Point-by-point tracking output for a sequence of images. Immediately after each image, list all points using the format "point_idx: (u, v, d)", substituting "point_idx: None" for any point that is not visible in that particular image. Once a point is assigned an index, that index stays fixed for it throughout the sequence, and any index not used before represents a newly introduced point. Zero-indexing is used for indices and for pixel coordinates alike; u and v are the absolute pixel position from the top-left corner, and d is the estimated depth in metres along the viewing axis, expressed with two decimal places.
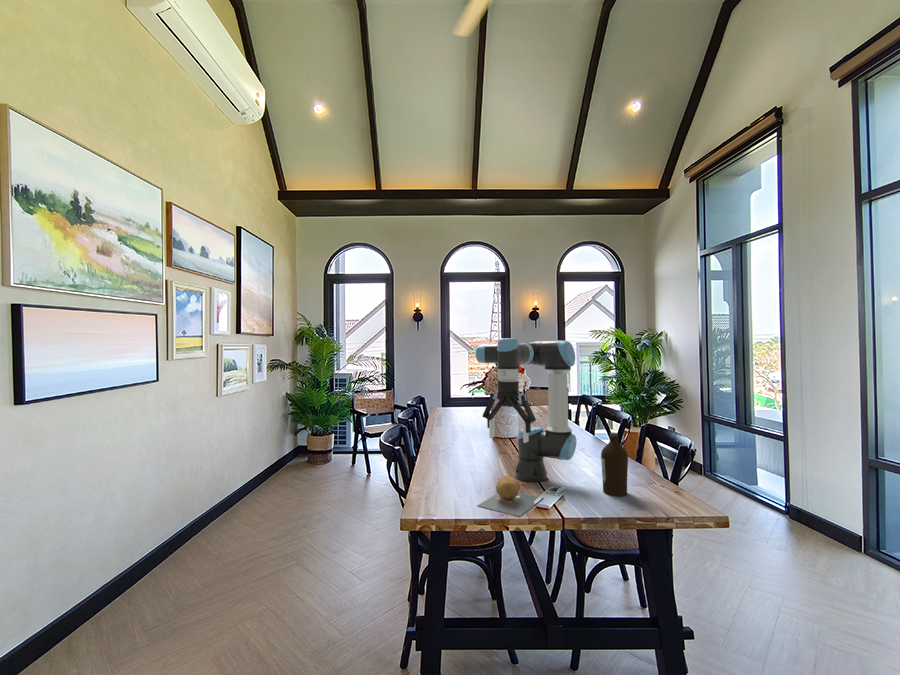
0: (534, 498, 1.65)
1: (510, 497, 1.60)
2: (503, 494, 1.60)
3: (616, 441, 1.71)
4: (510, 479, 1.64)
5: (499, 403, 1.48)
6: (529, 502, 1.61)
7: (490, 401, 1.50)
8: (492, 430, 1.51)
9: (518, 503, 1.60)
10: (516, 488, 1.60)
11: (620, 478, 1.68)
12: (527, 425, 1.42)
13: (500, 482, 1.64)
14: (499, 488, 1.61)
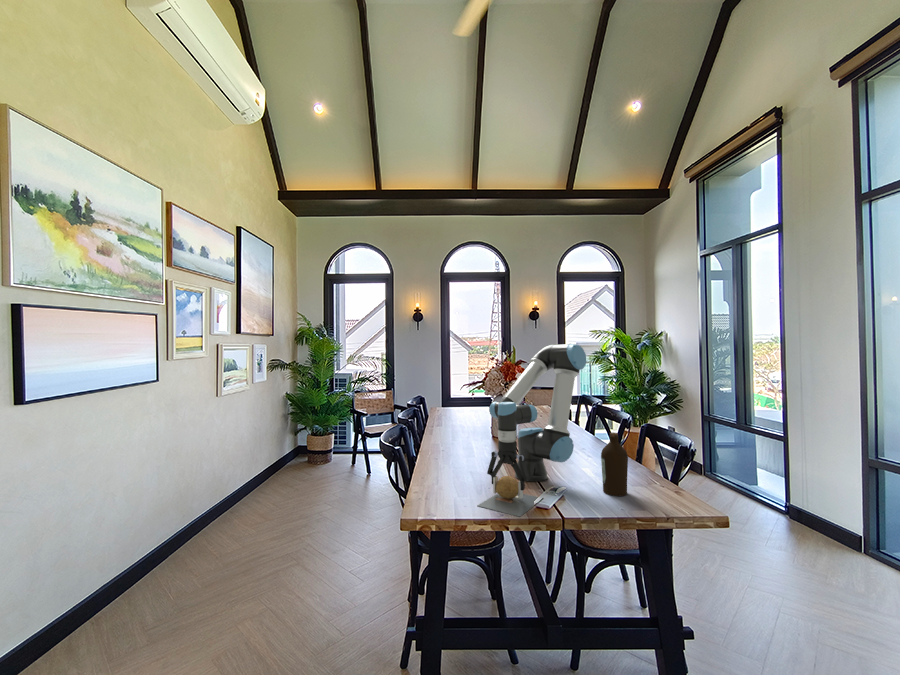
0: (534, 498, 1.65)
1: (510, 497, 1.60)
2: (503, 494, 1.60)
3: (616, 441, 1.71)
4: (510, 479, 1.64)
5: (500, 461, 1.66)
6: (529, 502, 1.61)
7: (492, 459, 1.69)
8: None
9: (518, 503, 1.60)
10: (516, 488, 1.60)
11: (620, 478, 1.68)
12: (521, 483, 1.61)
13: (500, 482, 1.64)
14: (499, 488, 1.61)
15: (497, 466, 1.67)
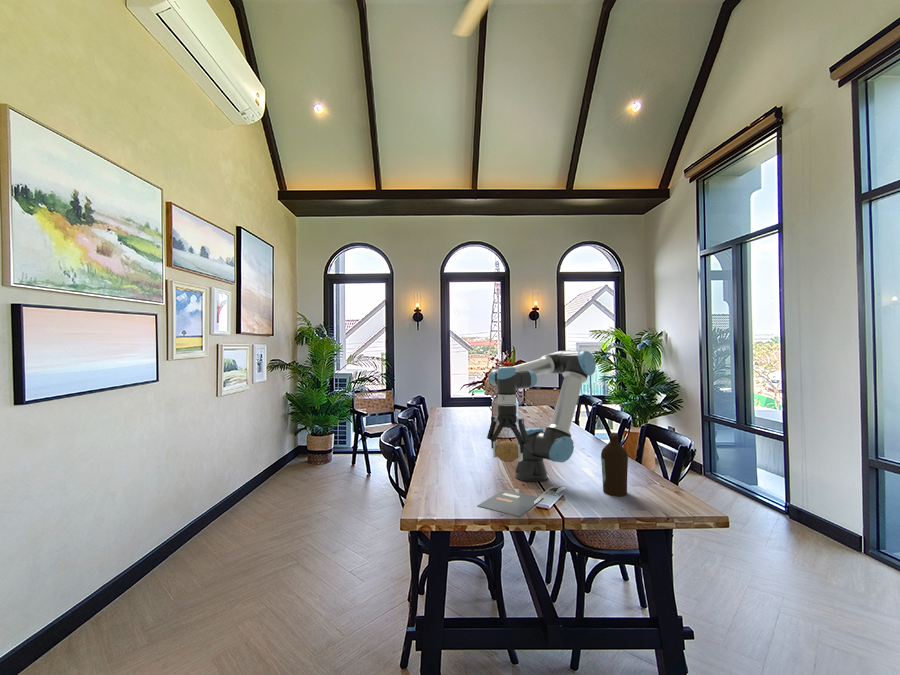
0: (534, 498, 1.65)
1: (510, 460, 1.61)
2: (502, 457, 1.61)
3: (616, 441, 1.71)
4: (510, 442, 1.65)
5: (500, 425, 1.67)
6: (529, 502, 1.61)
7: (492, 423, 1.69)
8: None
9: (518, 503, 1.60)
10: (516, 451, 1.61)
11: (620, 478, 1.68)
12: (521, 446, 1.62)
13: (500, 445, 1.65)
14: (499, 451, 1.62)
15: (497, 430, 1.68)
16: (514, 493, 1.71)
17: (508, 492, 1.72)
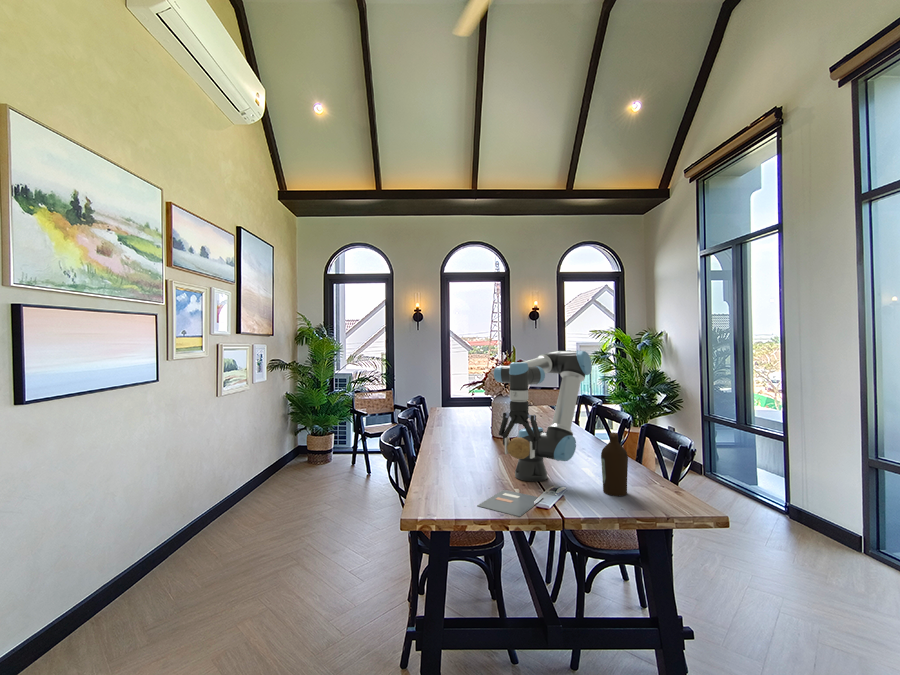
0: (534, 498, 1.65)
1: (521, 456, 1.59)
2: (514, 453, 1.59)
3: (616, 441, 1.71)
4: (521, 439, 1.63)
5: (511, 421, 1.65)
6: (529, 502, 1.61)
7: (504, 420, 1.67)
8: None
9: (518, 503, 1.60)
10: (527, 447, 1.59)
11: (620, 478, 1.68)
12: (533, 443, 1.60)
13: (511, 442, 1.63)
14: (510, 448, 1.60)
15: (508, 427, 1.66)
16: (514, 493, 1.71)
17: (508, 492, 1.72)
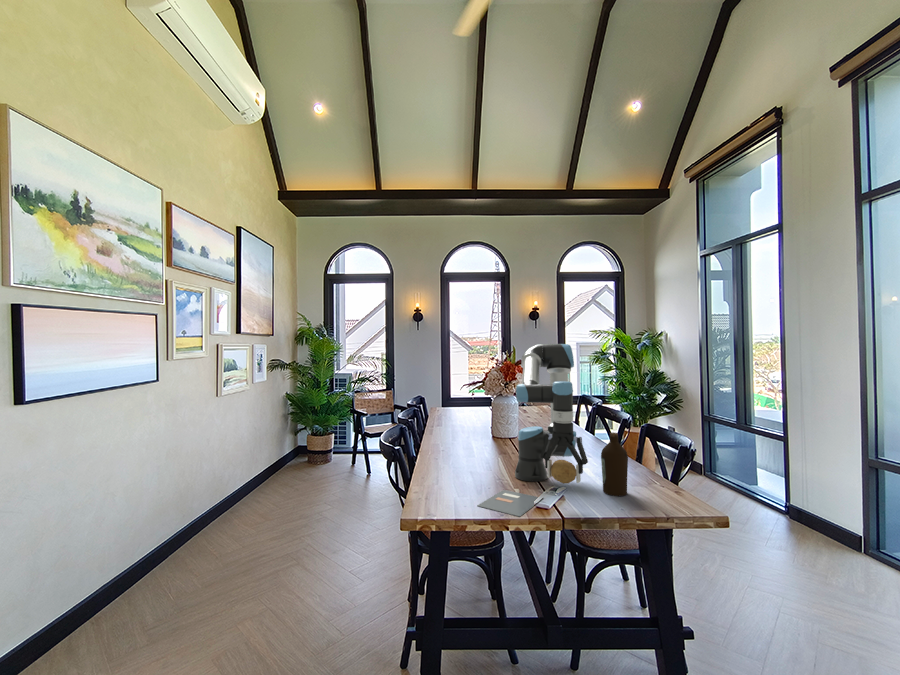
0: (534, 498, 1.65)
1: (568, 481, 1.51)
2: (560, 478, 1.51)
3: (616, 441, 1.71)
4: (566, 462, 1.55)
5: (555, 443, 1.57)
6: (529, 502, 1.61)
7: (546, 441, 1.60)
8: (550, 470, 1.59)
9: (518, 503, 1.60)
10: (574, 471, 1.51)
11: (620, 478, 1.68)
12: (580, 466, 1.52)
13: (556, 465, 1.55)
14: (556, 472, 1.52)
15: (552, 449, 1.58)
16: (514, 493, 1.71)
17: (508, 492, 1.72)
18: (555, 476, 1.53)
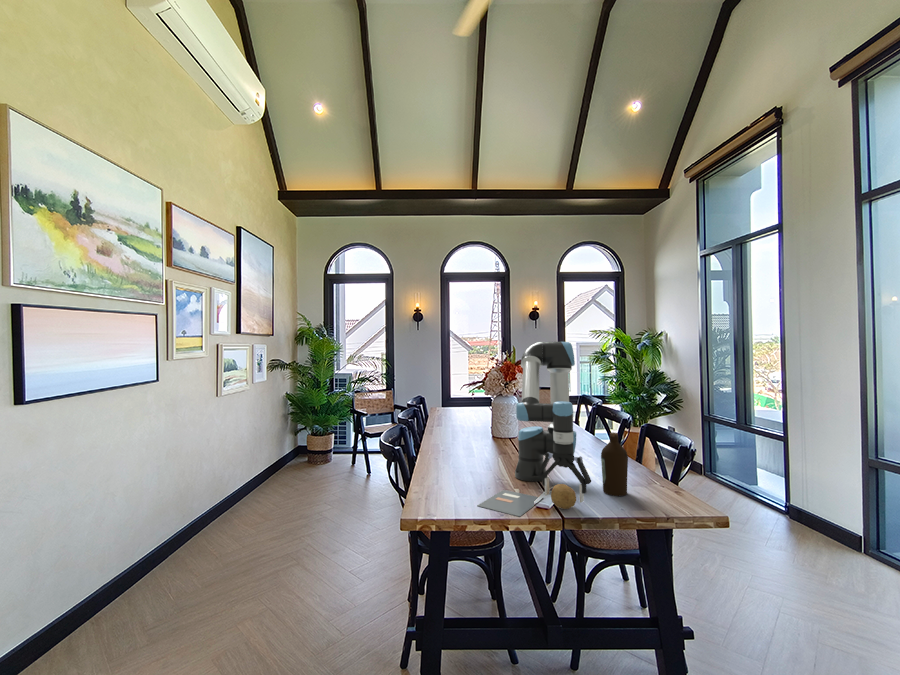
0: (534, 498, 1.65)
1: (567, 507, 1.51)
2: (560, 504, 1.51)
3: (616, 441, 1.71)
4: (566, 488, 1.55)
5: (555, 463, 1.57)
6: (529, 502, 1.61)
7: (545, 460, 1.60)
8: (547, 488, 1.60)
9: (518, 503, 1.60)
10: (574, 497, 1.51)
11: (620, 478, 1.68)
12: (583, 486, 1.52)
13: (556, 491, 1.55)
14: (556, 498, 1.52)
15: (550, 468, 1.58)
16: (514, 493, 1.71)
17: (508, 492, 1.72)
18: (555, 502, 1.53)
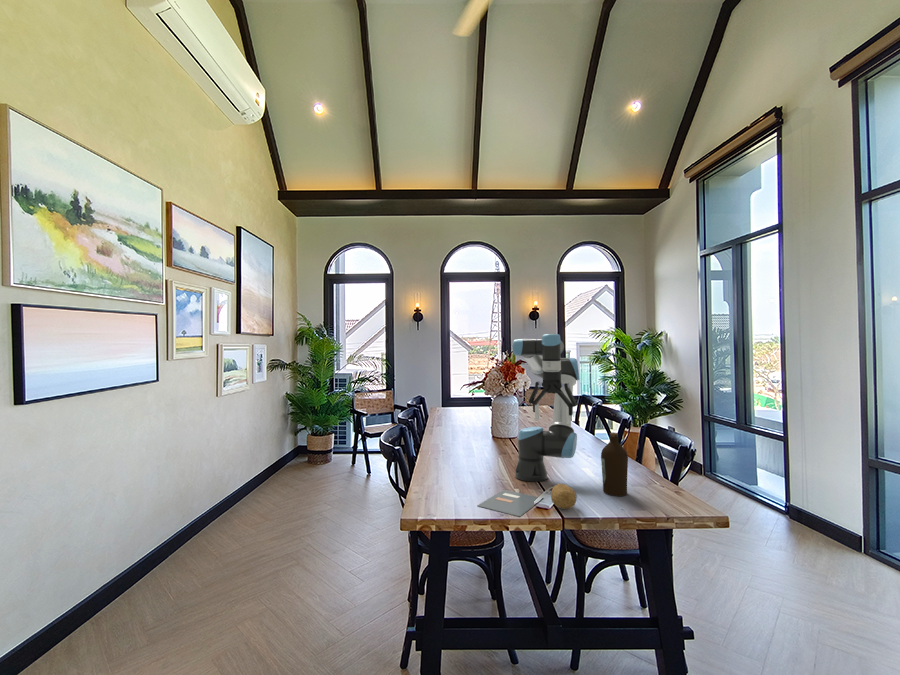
0: (534, 498, 1.65)
1: (567, 507, 1.51)
2: (560, 504, 1.51)
3: (616, 441, 1.71)
4: (566, 488, 1.55)
5: (544, 390, 1.71)
6: (529, 502, 1.61)
7: (535, 389, 1.73)
8: (537, 414, 1.74)
9: (518, 503, 1.60)
10: (574, 497, 1.51)
11: (620, 478, 1.68)
12: (570, 409, 1.66)
13: (556, 491, 1.55)
14: (556, 498, 1.52)
15: (540, 395, 1.72)
16: (514, 493, 1.71)
17: (508, 492, 1.72)
18: (555, 502, 1.53)
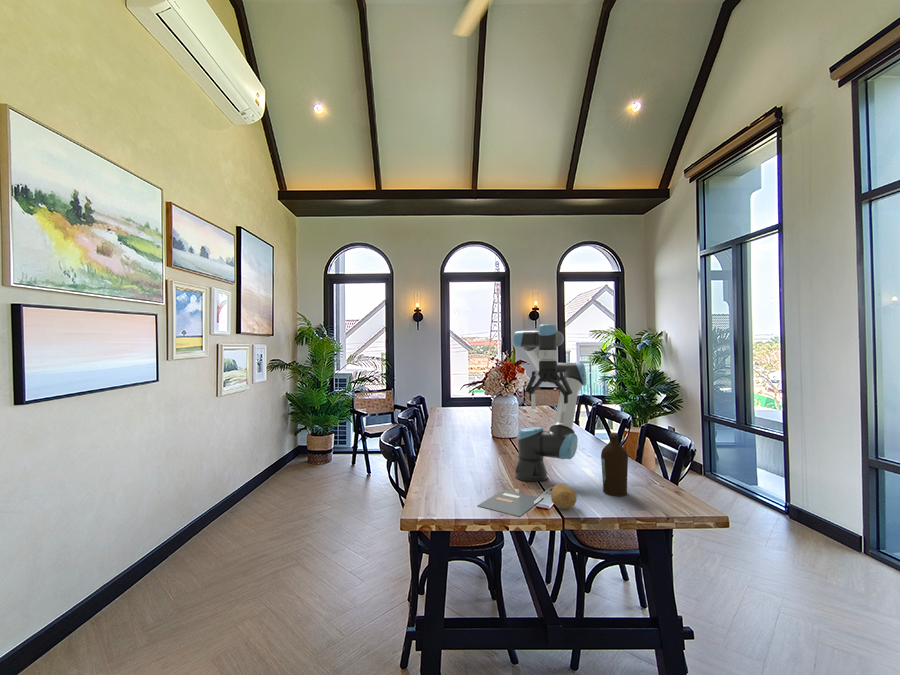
0: (534, 498, 1.65)
1: (567, 507, 1.51)
2: (560, 504, 1.51)
3: (616, 441, 1.71)
4: (566, 488, 1.55)
5: (540, 379, 1.75)
6: (529, 502, 1.61)
7: (532, 378, 1.78)
8: (534, 402, 1.78)
9: (518, 503, 1.60)
10: (574, 497, 1.51)
11: (620, 478, 1.68)
12: (565, 397, 1.70)
13: (556, 491, 1.55)
14: (556, 498, 1.52)
15: (536, 384, 1.76)
16: (514, 493, 1.71)
17: (508, 492, 1.72)
18: (555, 502, 1.53)
